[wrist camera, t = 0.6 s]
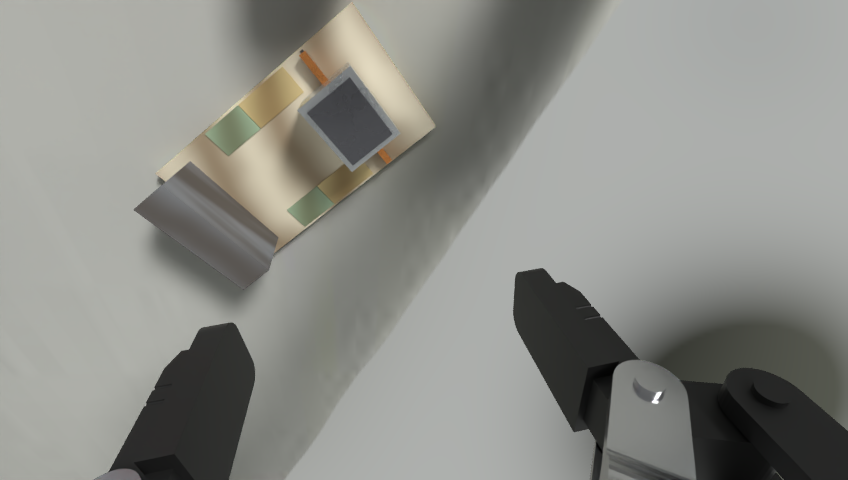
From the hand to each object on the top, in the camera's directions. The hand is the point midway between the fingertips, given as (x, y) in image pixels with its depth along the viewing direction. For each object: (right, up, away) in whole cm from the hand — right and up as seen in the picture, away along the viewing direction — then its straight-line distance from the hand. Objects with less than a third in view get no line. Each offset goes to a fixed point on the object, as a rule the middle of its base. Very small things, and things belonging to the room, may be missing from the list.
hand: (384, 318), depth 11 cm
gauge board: (-10, +11, +24) cm, 28 cm away
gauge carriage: (-5, +14, +22) cm, 26 cm away
